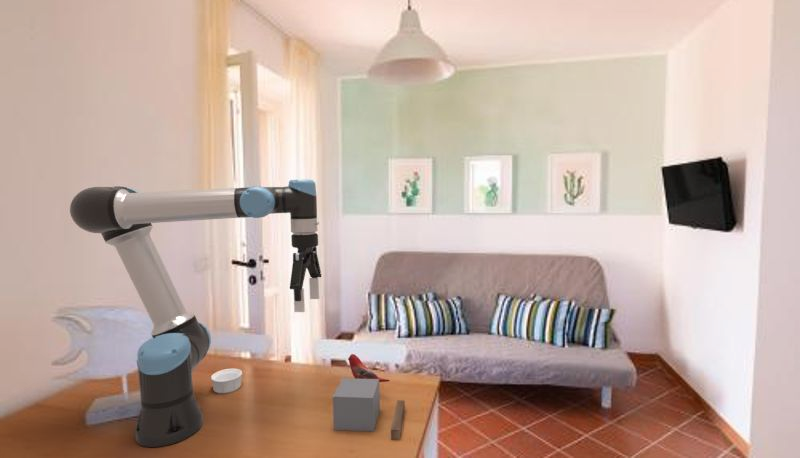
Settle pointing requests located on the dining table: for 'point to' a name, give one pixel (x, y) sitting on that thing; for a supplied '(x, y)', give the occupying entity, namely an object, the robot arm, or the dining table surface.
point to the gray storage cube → (356, 404)
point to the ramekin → (226, 380)
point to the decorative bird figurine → (362, 369)
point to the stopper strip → (398, 420)
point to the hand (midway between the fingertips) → (307, 305)
